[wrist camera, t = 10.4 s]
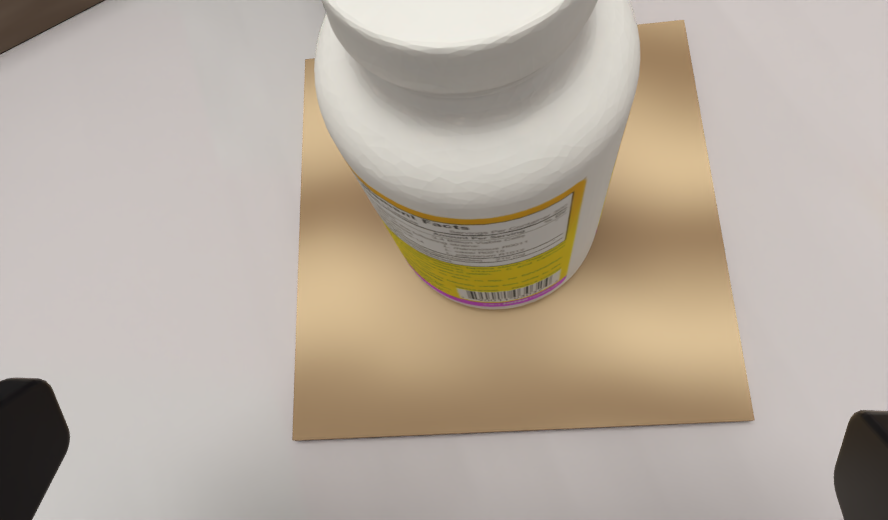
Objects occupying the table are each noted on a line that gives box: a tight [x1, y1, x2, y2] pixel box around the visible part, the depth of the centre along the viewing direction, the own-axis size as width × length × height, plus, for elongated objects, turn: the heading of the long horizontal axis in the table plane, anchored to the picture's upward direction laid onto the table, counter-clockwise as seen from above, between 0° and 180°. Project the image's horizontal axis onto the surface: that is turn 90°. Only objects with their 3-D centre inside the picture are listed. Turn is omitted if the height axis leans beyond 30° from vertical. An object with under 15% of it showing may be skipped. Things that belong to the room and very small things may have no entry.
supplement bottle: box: [314, 0, 640, 309], centre depth 16 cm, size 7×7×13 cm
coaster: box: [292, 20, 754, 441], centre depth 22 cm, size 14×14×1 cm
